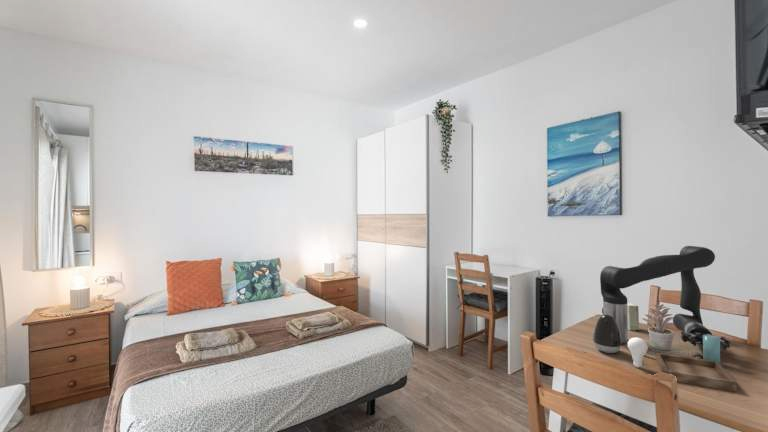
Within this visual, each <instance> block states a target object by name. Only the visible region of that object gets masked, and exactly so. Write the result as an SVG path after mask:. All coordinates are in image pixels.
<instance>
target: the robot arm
mask: <svg viewBox="0 0 768 432" xmlns="http://www.w3.org/2000/svg"><path fill="white" fill-rule="evenodd" d="M715 259H716V255H715V252H714V251H713V250H711V249H710V248H707V247H704V246H697V245H696V246H695V245H685V246H684V247H683V246H682V248H681V249H680V252H679V254H667V255H666V254H665V255H657V256H654V257H649V258H646V259H644V260H643V261H642V262H640V264H639V265H635V266H631V267H625V268H624V267H619V266H618V267H617V266H612V265H608V266H607V265H606V266H605V267H603V268H602V270H601V271H600V277H599V278H600V279H599V281H600V282H599V283H600V284H599V285H600V294H601V297H602V301H603V302H602V308H603V314H602V315H610V316H612V317H613V318H614V320H615V321H616V323H617V325H618V328H619V331H620V335H621V340H622V344H627V343H628V341H629V340H628V339H629V332H628V331H629V329H628V312H627V303H628V297H627V296H626V295H625V293H623V292H622V290H621V289H626V288H629V287H632V286H634V285H636V284H639V283H642V282H647V281H650V280H654V279H659V278H662V277H666V276H670V275H673V274H677V273H680V281H681V290H680V291H681V292H680V301H679V306H680V308H681V309H682V310H686V311H689V312H691V313H692V315H689V314H684V313H676V314H675V315H674V316H673V317H672V323H673V325H674V327H675V328H676V329H678V330H680V331H681V332H680V338H681V340H682V342H684V343H687V342H688V343H689V344H690V345H693V346H694V347H696V346H697V345H700V346H703V335H712V336H714V335H713V334H712V332H711V331H710V330H709V329H708V328H707V327H706V326H705V325H704V324H703V320H702V315H701V309H700V308H701V299H702V293H701V289H700V287H699V284H698V282H697V280H696V278H695V272H694V270H695V269H700V268H701V269H702V268H706V267H709V266H711V265H712V264H713V263H714V261H715ZM719 338H720V349H722V350H723V351H726V350H727V349H730V348H731V341H730V340H729V339H728V338H726V337H724V336H720V337H719ZM626 342H627V343H626Z"/></svg>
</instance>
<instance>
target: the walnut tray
mask: <svg viewBox="0 0 768 432" xmlns="http://www.w3.org/2000/svg"><path fill="white" fill-rule="evenodd" d="M655 361H656V363H657V366H658V367H659V369H660V372H661V373H662V372H664V373H667V374H672V375H674V376H676V378H677V381H676V382H679V383H683V384H685V383H686V384H690V385H696V386H702V387H708V388H713V389H718V390H722V391H723V390H724V391H725V390H726V391H729V392H730V391H731V392H736V393H737V382H736V380H734V379H733V377H732V376H731V375H730V373H728V372H727V371H726V370H725V368H724V367H723V366H722V365H721V363H720V364H719V363H718V362H716V361H709V360H703V358H696V357H695V358H693V357H688V356H681V355H675V354H668V353H660V352H655Z"/></svg>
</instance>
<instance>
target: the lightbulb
mask: <svg viewBox="0 0 768 432" xmlns="http://www.w3.org/2000/svg"><path fill="white" fill-rule="evenodd" d="M627 348H628V350H629V351H630V353H631V357H632V358H631V359H632V360H633V362H632V364H633V366H635V367H636V368H638V369H639V368H642V366H643V361H644V356H645V354H646V353H647V352H648V349H649V347H648V343H646V341H645V340H644V339H642V338H640V337H631V338H630V339H629V340H628V342H627Z"/></svg>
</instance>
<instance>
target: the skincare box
mask: <svg viewBox="0 0 768 432" xmlns="http://www.w3.org/2000/svg"><path fill="white" fill-rule="evenodd" d="M627 312H628V331H636V330H639V331H640V322H639V321H640V318H639V316H640V315H639V305H636V304H634V303H633V302H627Z"/></svg>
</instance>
